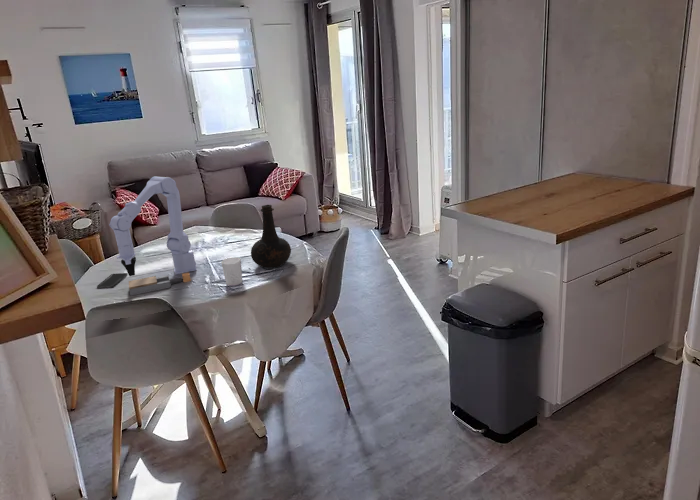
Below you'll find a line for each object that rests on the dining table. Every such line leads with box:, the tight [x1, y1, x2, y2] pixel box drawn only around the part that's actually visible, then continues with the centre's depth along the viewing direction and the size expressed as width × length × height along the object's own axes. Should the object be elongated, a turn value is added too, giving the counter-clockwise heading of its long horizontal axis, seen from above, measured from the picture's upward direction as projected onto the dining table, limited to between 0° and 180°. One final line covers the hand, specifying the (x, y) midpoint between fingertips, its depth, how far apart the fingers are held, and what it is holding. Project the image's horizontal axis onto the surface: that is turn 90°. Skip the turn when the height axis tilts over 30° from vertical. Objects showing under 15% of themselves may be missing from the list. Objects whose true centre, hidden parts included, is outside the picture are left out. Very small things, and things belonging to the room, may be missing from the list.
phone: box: [96, 272, 129, 289], centre depth 226 cm, size 8×1×15 cm
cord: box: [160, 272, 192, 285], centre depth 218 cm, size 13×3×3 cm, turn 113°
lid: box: [128, 275, 157, 290], centre depth 214 cm, size 11×8×1 cm
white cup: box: [221, 257, 243, 287], centre depth 213 cm, size 8×8×10 cm
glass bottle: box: [250, 204, 292, 269], centre depth 228 cm, size 18×18×28 cm
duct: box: [128, 275, 172, 296], centre depth 215 cm, size 16×8×3 cm, turn 113°
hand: (132, 275), depth 211 cm, fingers closed
